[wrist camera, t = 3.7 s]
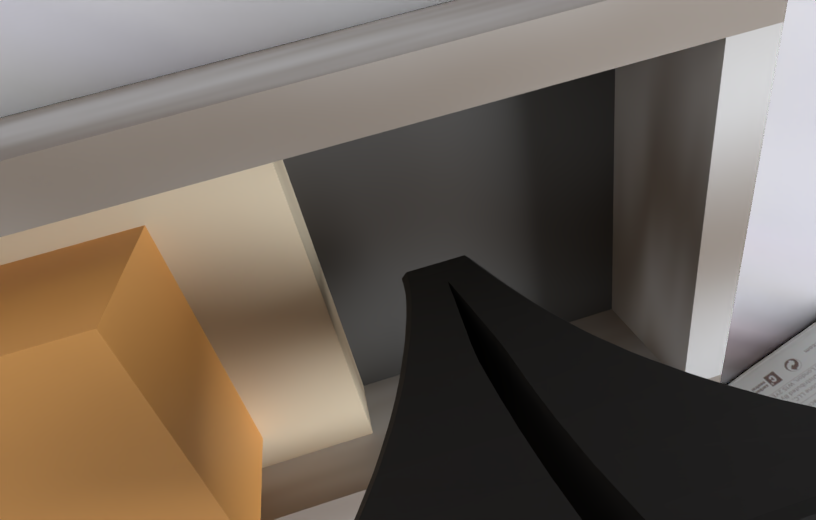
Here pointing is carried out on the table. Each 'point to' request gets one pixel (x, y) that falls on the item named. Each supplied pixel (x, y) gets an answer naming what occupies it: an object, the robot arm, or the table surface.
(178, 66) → the table surface
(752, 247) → the table surface
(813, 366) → the small box
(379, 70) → the trap lane
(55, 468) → the orange block
